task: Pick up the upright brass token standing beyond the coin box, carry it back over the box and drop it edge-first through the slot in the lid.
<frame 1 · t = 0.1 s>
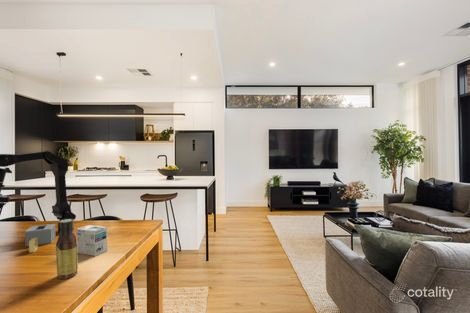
token: (33, 250, 115), on the table
coin box: (41, 241, 126), on the table
sauce bottle: (67, 276, 92), on the table
light bulb box: (92, 252, 114), on the table
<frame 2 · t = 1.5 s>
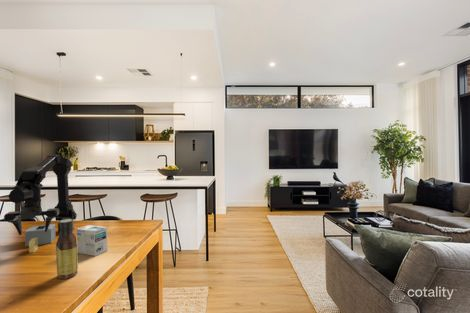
hand: (33, 233, 115), 8 cm above the table, tool pointing down, fingers open, 9 cm apart
nothing on the table moved.
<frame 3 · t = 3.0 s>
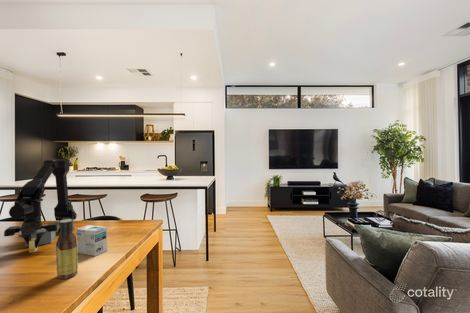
hand: (33, 248, 115), 1 cm above the table, tool pointing down, fingers closed on token, 2 cm apart
token: (33, 250, 115), on the table, touching gripper
everything else where it was.
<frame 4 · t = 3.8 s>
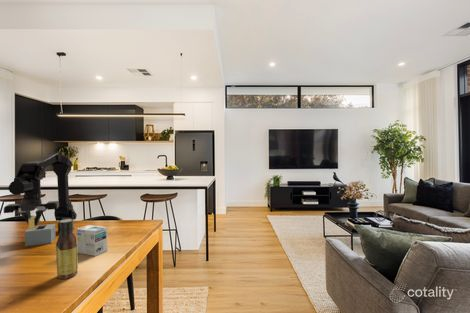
hand: (33, 226, 115), 11 cm above the table, tool pointing down, fingers closed on token
token: (33, 228, 115), point 10 cm above the table, touching gripper
everything else where it was.
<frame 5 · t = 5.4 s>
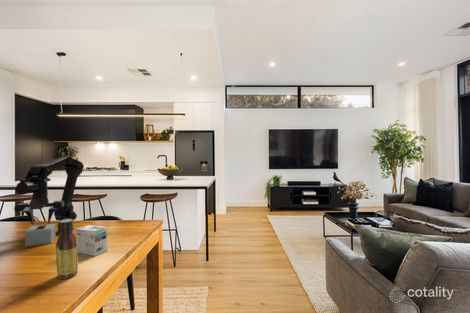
hand: (40, 223, 126), 9 cm above the table, tool pointing down, fingers open, 6 cm apart
token: (41, 241, 126), resting in coin box
everything else where it was.
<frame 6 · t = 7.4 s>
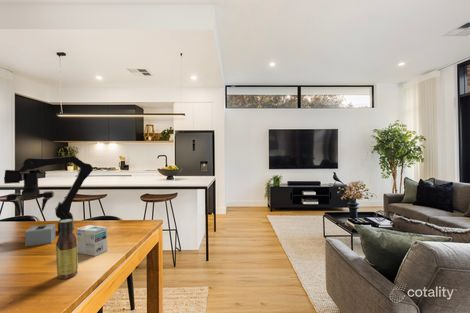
hand: (31, 212, 135), 12 cm above the table, tool pointing down, fingers open, 9 cm apart
nothing on the table moved.
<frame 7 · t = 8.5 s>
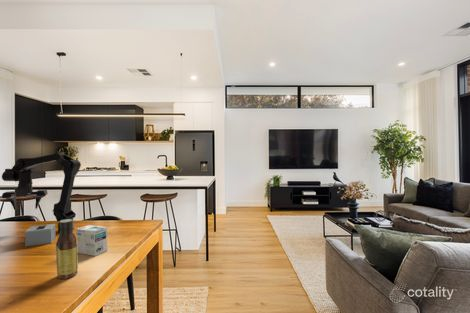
hand: (26, 209, 143), 12 cm above the table, tool pointing down, fingers open, 9 cm apart
nothing on the table moved.
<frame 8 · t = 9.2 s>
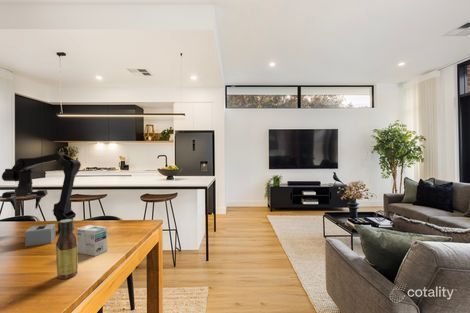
hand: (26, 209, 143), 12 cm above the table, tool pointing down, fingers open, 9 cm apart
nothing on the table moved.
at the end: token inside the target area on the coin box (0.0 cm from its centre), point 0.0 cm above the coin box's base; the gripper is holding nothing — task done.
